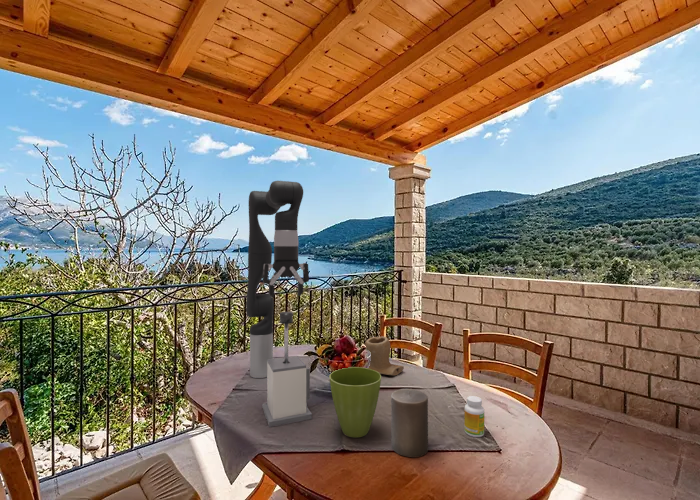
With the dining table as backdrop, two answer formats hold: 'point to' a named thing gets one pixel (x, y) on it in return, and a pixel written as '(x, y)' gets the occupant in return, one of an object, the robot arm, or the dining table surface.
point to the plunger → (286, 331)
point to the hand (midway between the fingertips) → (286, 296)
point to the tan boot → (381, 356)
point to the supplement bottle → (474, 417)
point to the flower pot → (355, 398)
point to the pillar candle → (409, 422)
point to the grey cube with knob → (287, 391)
